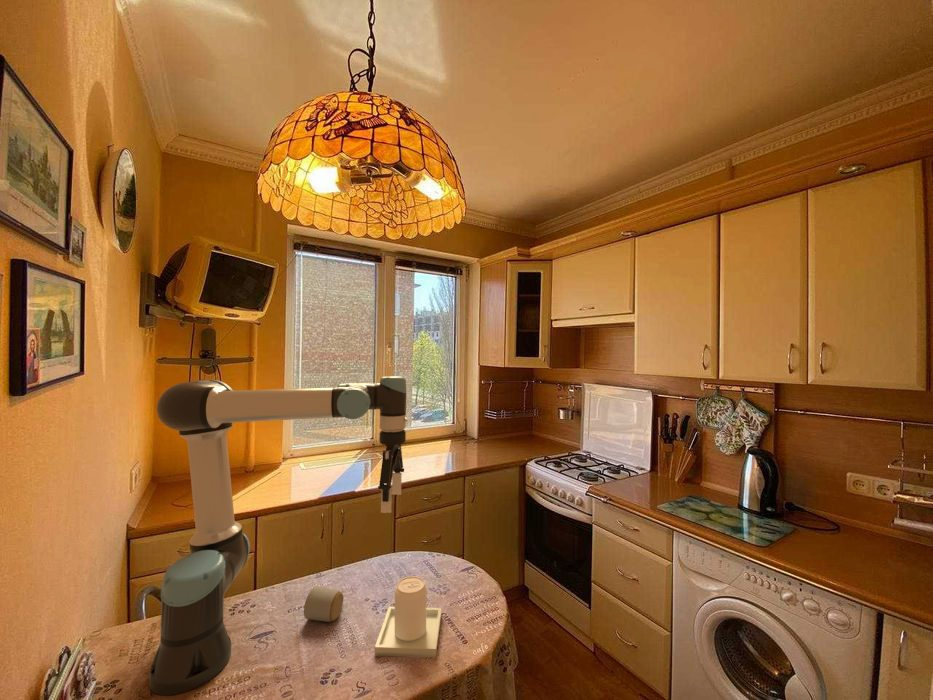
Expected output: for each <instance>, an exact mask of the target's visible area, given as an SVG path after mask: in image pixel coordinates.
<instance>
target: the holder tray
mask: <svg viewBox="0 0 933 700" xmlns="http://www.w3.org/2000/svg"><path fill="white" fill-rule="evenodd" d="M442 610H443V609H442V607H426V631H425V633H424V634H423V635H422V636H421V637H420V638H418V639H416V640H412V641H405V640H401V639H399V638H398V637H397V636H396V634H395V606H388V609H387V611H386V615H385V616H384V620H383V623H382V626H381V628H380V632H379V635H378V637H377V640H376V643H375V646H374V656H377V657H402V658H403V657H404V658H407V657H411V658H436V659H437V651H438V645H439V636H440V630H441V623H442V622H441V621H442Z"/></svg>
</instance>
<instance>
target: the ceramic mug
mask: <svg viewBox="0 0 933 700" xmlns="http://www.w3.org/2000/svg"><path fill="white" fill-rule="evenodd" d="M343 604H344V594H343V592H342V591H340V590H338V589H335V588H329V587H326V586H322V585H321V586H320V585H314V586H313V587H312V588H311V590H309V593H308V594H307V596H306V598H305V602H304V608H303V616H304V619H306V620H312V621H321V622H328V623H329V622H331V623H332V622H334V621H336V620H337V618H338V617H339V615H340V613H341V612H342V608H343Z"/></svg>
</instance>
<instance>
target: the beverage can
mask: <svg viewBox="0 0 933 700" xmlns="http://www.w3.org/2000/svg"><path fill="white" fill-rule="evenodd" d="M394 589H395V590H394V607H395V634H396V636H397V637H398V638H399V639H401V640H405V641H412V640H416V639H418V638H420V637H421V636H422V635H423V634H424V633H425V631H426V608H427V604H428V602H427V601H428V600H427V595H428V593H427V592H428V591H427V590H428V589H427V585H426V582H425V580H424V579H423V578H421V577H420V576H417V575H416V576H415V575H412V576H406V577H403V578H401V579H399V581H398V582H397V584H396V587H395V588H394Z"/></svg>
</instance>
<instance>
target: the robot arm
mask: <svg viewBox="0 0 933 700" xmlns="http://www.w3.org/2000/svg"><path fill="white" fill-rule="evenodd" d="M369 410H375V411H376V410H379V426H378V427H379V429H380V430H379V436H378V437H379V438H378V439H379V440H378V441H379V444H380V445H383V446H385V450H383V451H382V452H381V453H382V459H381V469H380V475H379V477H380V478H379V485H378V486H377V489H378V490H380V491H381V492H380V513H381V514H391V513H392V495H393V496H394V495H395V496H396V495H398V496H401V495H402V473H404V472H405V468H404V463H403V453H402V445H403V444H405V443H406V439H407V438H406V437H407V435H406V434H407V432H406V428H407V427H406V423H407V422H408V421H409V419H408V418H407V417H406V416H407V380H406V378H404V377H403V376H397V375H396V376H392V375H391V376H381V377H380V380H379V382H377V383H352V382H349V383H340V384H339V385H337V387H315V388H311V387H310V388H281V389H280V388H279V389H276V388H275V389H247V390H246V389H245V390H244V389H243V390H240V389H239V390H238V389H237V390H233V389H232V387H230V385H228V384H227V383H225V382H224V381H221V380H218V379H210V378H209V379H205V378H204V379H199V380H193V381H186V382H180V383H176V384H174V385H173V386H170V387H168V388H167V389H166V390H164V392H162V394H161V395H160V397H159V398H158V401H157V404H156V414H157V416H158V418H159V421H161V422H162V423H163V425H165V426H166V427H168V428H169V429H172V430H175V431H178V434H179V437H181V438H182V439H184V440H186V442H187V443H186V444H187V452H188V462H189V472H190V483H191V493H192V502H193V514H194V515H193V516H194V525H195V533H194V534H192V535H193V536H191V538H190V539H189V552H190V553H189V554H187V555H186V556H185V557H181V558H178V560H176V561H175V562H174V563H172V564H171V565H170V566H169V567H168V568H167V570H166V571H165V573H164V575H163V577H162V582H161V583H162V584H161V588H160V599H161V600H160V603H161V604H160V605H161V606H160V643H159V646H158V648H157V650H156V653H155V655H154V658H153V660H152V664H151V666H150V670H149V674H148V686H149V690H151V692H153V694H154V693H155V694H157V695H159V696H160V695H161V696H174V695H179V694H182V693H183V694H184V693H185V692H189V691H191V690H194V689H196V688H198V687H200V686H203V685H204V684H205V683H207V682H208V681H210V680H211V679H213V678H214V677H216V676H217V675H219V674H220V672H221V671H222V670H223V669H224V668H225V667H226V666H227V664H228V663H229V661H230V658H231V656H232V640H231V637H230V636H229V634H228V630H227V629H226V625H225V623H224V608H225V607H224V603H225V601H224V600H225V599H224V598H225V595H226V592H227V591H228V590H229V588H230V586H232V583H234V581H235V580H236V578H237V577H238V575H239V573H241V570H243V568H244V567H245V565H246V563H247V561H248V558H249V555H250V552H251V551H250V550H251V549H250V548H251V544H250V541H249V537H248V536H247V534H245V533H243V526H242V524H241V523H239V522H237V521H236V520H235V510H234V499H233V489H232V478H231V466H230V458H229V448H228V438H227V435H228V433H229V431H231V429H232V428H233V423H252V422H253V423H254V422H267V421H268V422H269V421H272V422H273V421H287V420H288V421H290V420H311V419H327V418H329V419H332V418H333V419H334V418H336V419H337V418H346V419H348V420H357V419H360V418H361V417H363V416H364V415H365V414H366V413H367V412H368V411H369Z"/></svg>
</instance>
